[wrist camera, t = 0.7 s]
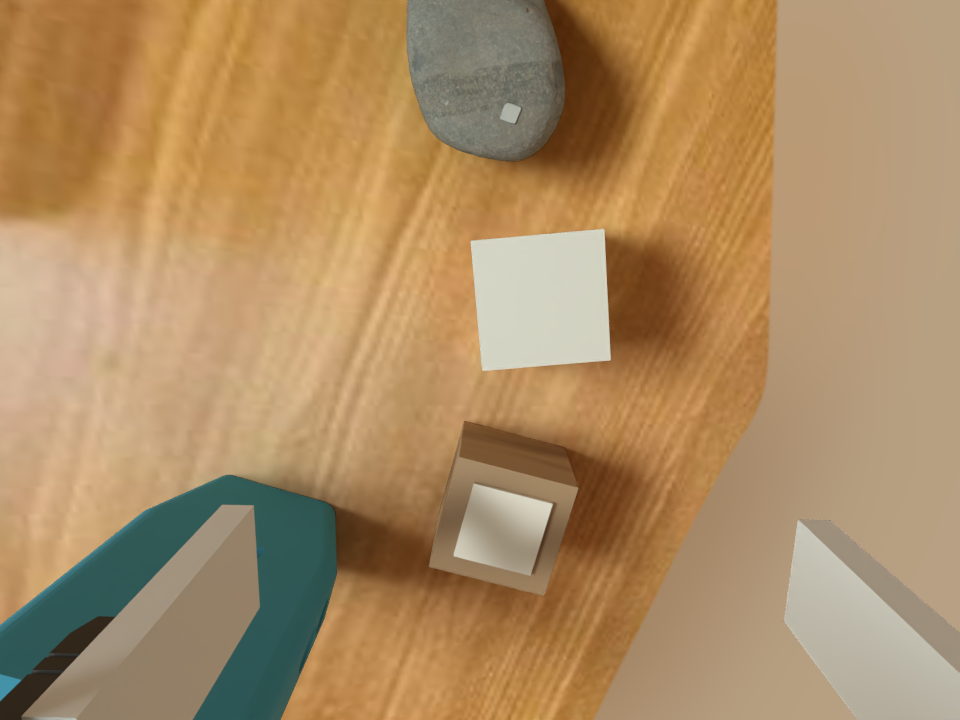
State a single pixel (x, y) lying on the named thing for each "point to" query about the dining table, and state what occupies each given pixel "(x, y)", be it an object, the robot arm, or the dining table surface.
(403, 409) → the dining table surface
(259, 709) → the block
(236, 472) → the dining table surface
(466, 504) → the marked block
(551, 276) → the plain block
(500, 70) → the stone
